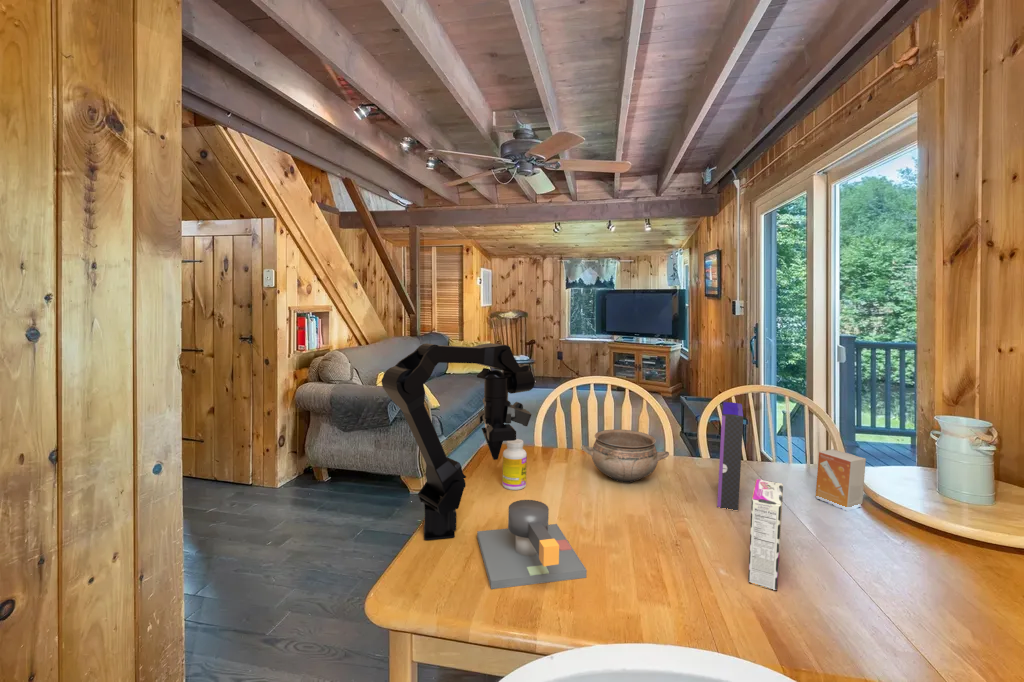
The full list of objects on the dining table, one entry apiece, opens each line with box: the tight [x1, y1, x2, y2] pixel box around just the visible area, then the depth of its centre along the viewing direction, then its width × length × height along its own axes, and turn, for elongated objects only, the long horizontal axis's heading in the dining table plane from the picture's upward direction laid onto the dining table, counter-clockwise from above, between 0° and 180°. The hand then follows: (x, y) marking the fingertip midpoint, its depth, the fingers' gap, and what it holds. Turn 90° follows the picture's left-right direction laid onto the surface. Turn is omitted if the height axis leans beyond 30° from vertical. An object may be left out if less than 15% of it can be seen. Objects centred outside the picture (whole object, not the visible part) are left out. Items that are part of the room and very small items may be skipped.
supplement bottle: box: [502, 438, 528, 491], centre depth 126 cm, size 7×7×13 cm
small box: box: [815, 449, 867, 507], centre depth 117 cm, size 8×6×13 cm
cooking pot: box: [580, 428, 670, 484], centre depth 133 cm, size 25×19×12 cm
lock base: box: [476, 523, 588, 590], centre depth 91 cm, size 18×18×6 cm
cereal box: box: [716, 401, 744, 511], centre depth 120 cm, size 17×5×24 cm, turn 154°
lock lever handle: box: [507, 499, 559, 566], centre depth 86 cm, size 17×8×4 cm, turn 15°
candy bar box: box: [747, 478, 784, 591], centre depth 86 cm, size 11×5×16 cm, turn 148°
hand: (495, 459), depth 110 cm, fingers closed
